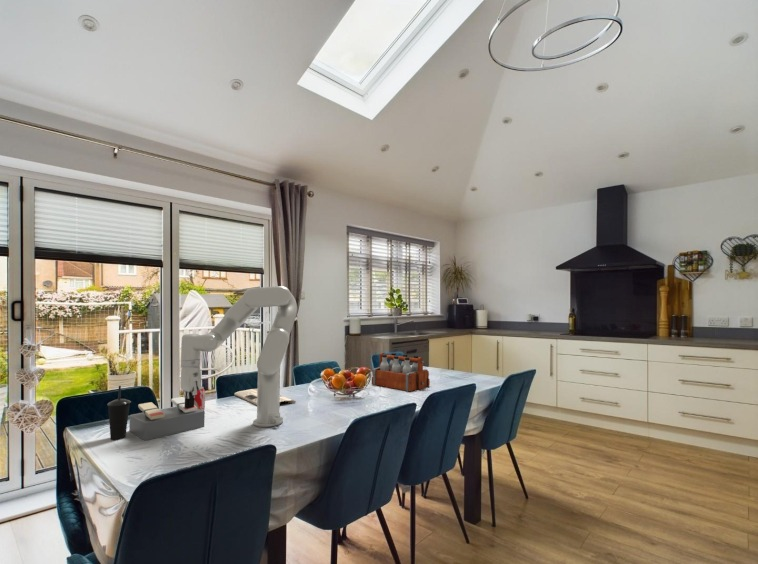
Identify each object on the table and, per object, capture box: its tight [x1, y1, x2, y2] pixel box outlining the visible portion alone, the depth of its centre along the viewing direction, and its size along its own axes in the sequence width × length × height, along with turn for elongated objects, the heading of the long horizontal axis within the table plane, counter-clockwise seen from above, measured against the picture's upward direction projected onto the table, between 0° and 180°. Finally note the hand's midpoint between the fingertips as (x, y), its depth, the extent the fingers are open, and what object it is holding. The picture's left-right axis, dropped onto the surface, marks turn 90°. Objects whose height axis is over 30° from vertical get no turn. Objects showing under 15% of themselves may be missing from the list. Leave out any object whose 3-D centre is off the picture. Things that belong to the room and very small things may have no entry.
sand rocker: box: [137, 401, 165, 420], centre depth 163 cm, size 14×5×2 cm, turn 49°
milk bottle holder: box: [371, 352, 431, 392], centre depth 255 cm, size 21×35×19 cm, turn 50°
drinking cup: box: [106, 385, 132, 441], centre depth 157 cm, size 8×8×20 cm
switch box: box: [128, 405, 206, 442], centre depth 170 cm, size 22×23×8 cm
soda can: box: [194, 386, 206, 411], centre depth 191 cm, size 7×7×12 cm
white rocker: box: [170, 396, 197, 413], centre depth 173 cm, size 14×5×2 cm, turn 49°
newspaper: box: [234, 388, 296, 406], centre depth 219 cm, size 37×19×3 cm, turn 42°
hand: (189, 407), depth 169 cm, fingers closed
